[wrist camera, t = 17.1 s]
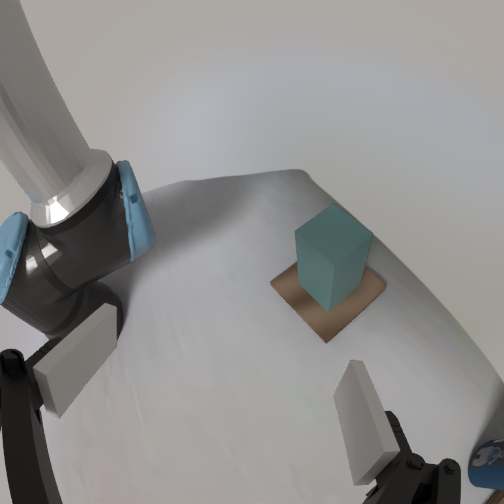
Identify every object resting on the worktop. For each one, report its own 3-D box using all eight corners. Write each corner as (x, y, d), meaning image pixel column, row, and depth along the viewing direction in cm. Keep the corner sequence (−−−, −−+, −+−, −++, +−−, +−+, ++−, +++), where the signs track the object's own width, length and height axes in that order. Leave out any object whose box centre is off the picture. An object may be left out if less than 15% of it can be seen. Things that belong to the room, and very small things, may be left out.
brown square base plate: (271, 285, 43) (262, 249, 36) (329, 240, 46) (331, 200, 38) (326, 343, 36) (331, 317, 29) (385, 288, 39) (400, 253, 32)
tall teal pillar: (298, 283, 41) (294, 231, 32) (329, 258, 42) (333, 203, 33) (328, 312, 37) (334, 266, 28) (359, 285, 39) (373, 233, 30)
